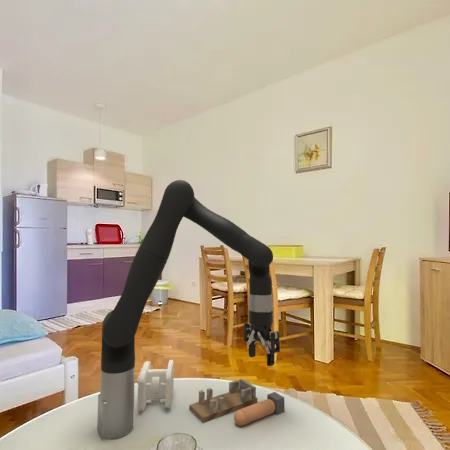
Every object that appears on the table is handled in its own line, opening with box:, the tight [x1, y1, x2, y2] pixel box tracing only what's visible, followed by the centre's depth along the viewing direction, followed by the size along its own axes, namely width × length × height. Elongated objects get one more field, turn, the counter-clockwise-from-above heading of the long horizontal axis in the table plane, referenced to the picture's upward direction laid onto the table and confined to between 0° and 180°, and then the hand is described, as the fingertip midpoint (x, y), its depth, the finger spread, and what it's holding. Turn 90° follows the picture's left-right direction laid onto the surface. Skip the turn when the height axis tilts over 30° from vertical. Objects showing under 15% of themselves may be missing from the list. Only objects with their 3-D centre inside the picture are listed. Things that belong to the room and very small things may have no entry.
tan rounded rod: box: [233, 391, 285, 426], centre depth 95 cm, size 18×4×4 cm, turn 124°
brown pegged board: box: [188, 378, 258, 424], centre depth 101 cm, size 21×9×5 cm, turn 124°
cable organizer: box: [136, 359, 175, 412], centre depth 103 cm, size 15×11×12 cm
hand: (261, 361), depth 96 cm, fingers open, 8 cm apart
